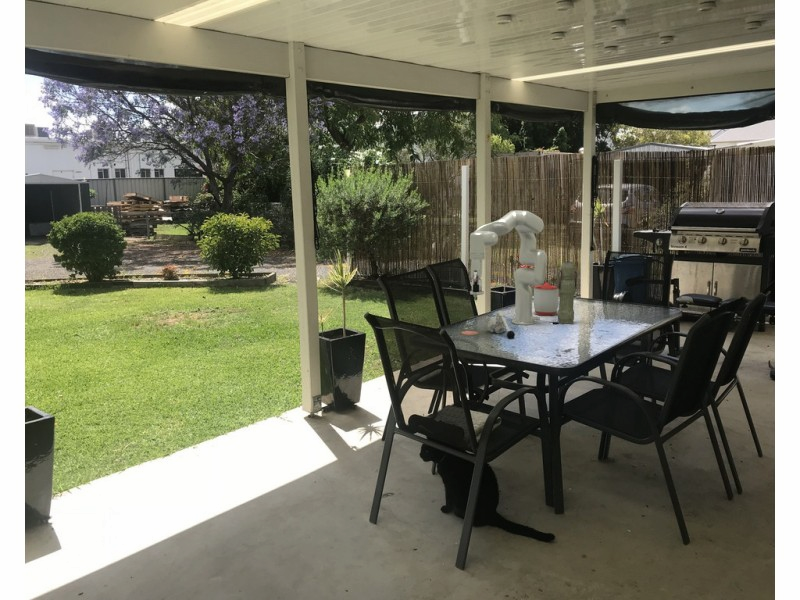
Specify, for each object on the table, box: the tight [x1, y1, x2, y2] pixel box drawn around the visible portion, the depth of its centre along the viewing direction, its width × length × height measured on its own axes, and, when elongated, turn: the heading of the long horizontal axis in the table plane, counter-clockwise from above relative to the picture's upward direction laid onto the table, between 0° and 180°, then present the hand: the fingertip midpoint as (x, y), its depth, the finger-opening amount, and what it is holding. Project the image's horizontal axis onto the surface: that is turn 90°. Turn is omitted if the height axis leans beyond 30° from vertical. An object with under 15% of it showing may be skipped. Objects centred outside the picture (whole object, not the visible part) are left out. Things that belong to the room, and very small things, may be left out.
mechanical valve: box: [486, 310, 516, 340], centre depth 337 cm, size 10×18×15 cm
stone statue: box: [556, 261, 579, 325], centre depth 364 cm, size 9×12×35 cm
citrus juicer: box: [532, 281, 560, 317], centre depth 392 cm, size 16×17×20 cm
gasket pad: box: [460, 330, 479, 336], centre depth 341 cm, size 9×9×1 cm
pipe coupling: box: [469, 278, 485, 296], centre depth 334 cm, size 7×7×8 cm
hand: (476, 290), depth 334 cm, fingers closed on pipe coupling, 5 cm apart
